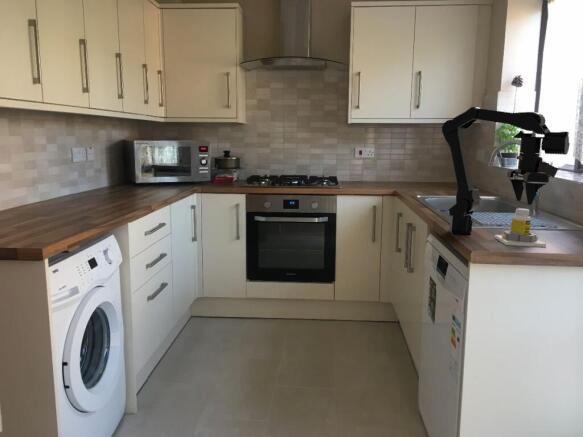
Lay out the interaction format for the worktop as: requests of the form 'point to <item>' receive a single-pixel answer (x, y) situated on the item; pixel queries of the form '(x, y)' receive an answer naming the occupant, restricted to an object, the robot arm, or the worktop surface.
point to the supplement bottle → (521, 222)
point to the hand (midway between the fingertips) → (523, 202)
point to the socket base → (520, 239)
